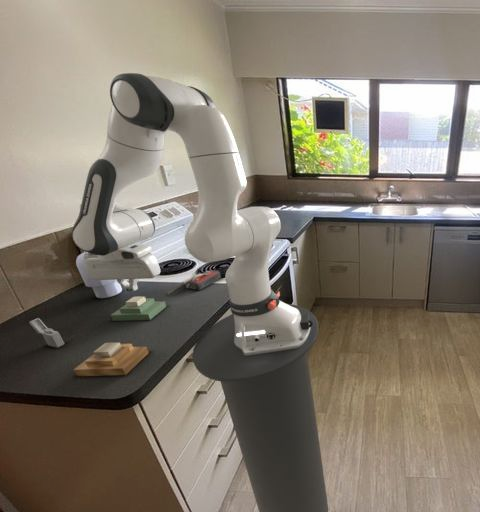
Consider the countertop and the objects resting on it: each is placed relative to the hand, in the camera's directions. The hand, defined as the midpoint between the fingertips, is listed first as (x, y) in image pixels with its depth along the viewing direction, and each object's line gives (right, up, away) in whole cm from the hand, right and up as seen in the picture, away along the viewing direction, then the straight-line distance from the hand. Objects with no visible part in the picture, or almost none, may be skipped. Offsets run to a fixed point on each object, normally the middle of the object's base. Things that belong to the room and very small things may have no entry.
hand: (131, 290), depth 94 cm
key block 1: (0, -8, +4) cm, 9 cm away
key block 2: (+11, -17, -18) cm, 28 cm away
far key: (0, -5, +2) cm, 6 cm away
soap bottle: (-23, -4, +16) cm, 28 cm away
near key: (+11, -14, -19) cm, 27 cm away
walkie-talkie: (+7, -1, +22) cm, 23 cm away
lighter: (-14, -15, -10) cm, 23 cm away
